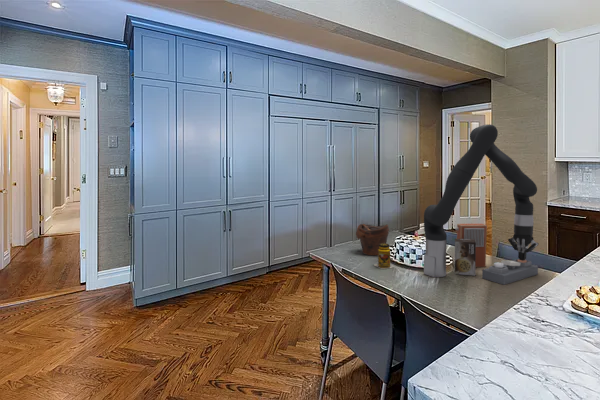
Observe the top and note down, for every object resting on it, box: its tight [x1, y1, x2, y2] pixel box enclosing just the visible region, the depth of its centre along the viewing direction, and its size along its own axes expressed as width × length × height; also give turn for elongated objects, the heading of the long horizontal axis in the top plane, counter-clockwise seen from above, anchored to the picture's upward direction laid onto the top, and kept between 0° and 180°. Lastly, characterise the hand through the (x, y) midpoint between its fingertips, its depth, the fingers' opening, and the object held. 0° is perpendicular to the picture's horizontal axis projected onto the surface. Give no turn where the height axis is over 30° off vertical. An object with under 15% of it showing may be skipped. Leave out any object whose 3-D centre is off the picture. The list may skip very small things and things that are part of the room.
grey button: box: [493, 261, 504, 269], centre depth 151 cm, size 4×4×2 cm
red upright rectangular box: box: [454, 223, 488, 268], centre depth 172 cm, size 21×7×15 cm
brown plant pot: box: [355, 223, 390, 256], centre depth 202 cm, size 18×20×18 cm
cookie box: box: [454, 238, 477, 276], centre depth 161 cm, size 9×6×16 cm
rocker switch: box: [500, 260, 520, 266], centre depth 155 cm, size 8×4×2 cm, turn 118°
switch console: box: [481, 258, 539, 285], centre depth 155 cm, size 26×10×6 cm, turn 118°
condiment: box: [373, 242, 394, 270], centre depth 176 cm, size 7×8×12 cm
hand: (522, 260), depth 159 cm, fingers closed
